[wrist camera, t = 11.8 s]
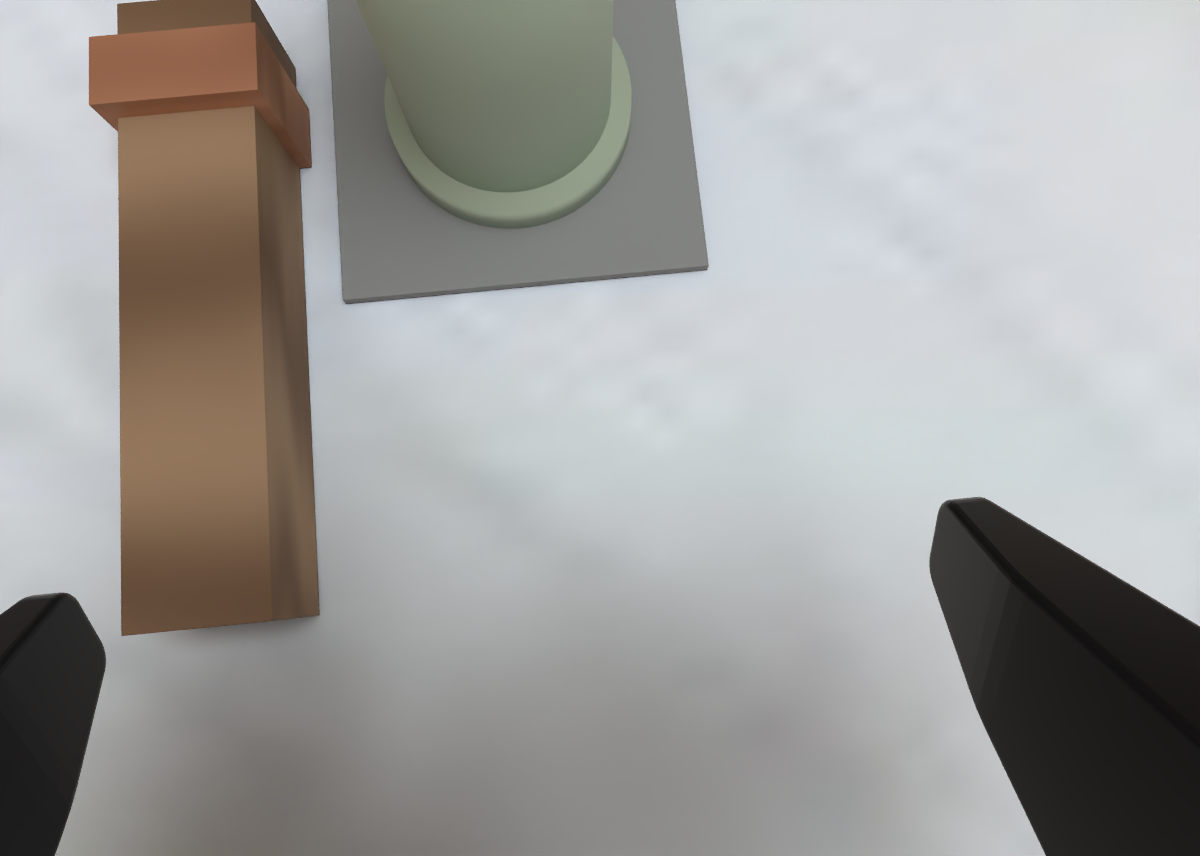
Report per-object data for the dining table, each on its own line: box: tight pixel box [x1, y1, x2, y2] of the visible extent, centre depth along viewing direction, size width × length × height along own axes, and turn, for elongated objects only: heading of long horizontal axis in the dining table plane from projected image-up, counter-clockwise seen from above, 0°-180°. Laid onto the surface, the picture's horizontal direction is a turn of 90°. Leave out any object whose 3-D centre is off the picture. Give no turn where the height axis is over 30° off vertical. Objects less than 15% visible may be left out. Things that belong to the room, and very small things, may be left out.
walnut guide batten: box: [89, 0, 319, 636], centre depth 20 cm, size 14×4×4 cm, turn 6°
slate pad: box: [328, 0, 709, 304], centre depth 23 cm, size 9×9×1 cm
